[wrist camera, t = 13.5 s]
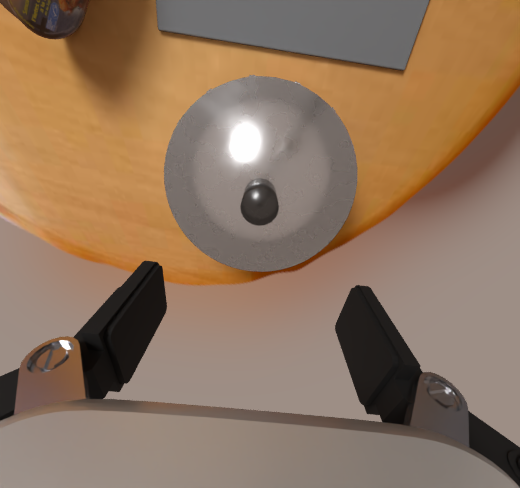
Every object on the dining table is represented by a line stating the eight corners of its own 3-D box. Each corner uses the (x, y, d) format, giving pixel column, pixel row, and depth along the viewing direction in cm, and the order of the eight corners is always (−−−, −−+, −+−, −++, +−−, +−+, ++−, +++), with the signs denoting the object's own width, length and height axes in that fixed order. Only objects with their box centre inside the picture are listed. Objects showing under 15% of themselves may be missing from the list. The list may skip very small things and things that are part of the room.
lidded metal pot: (361, 102, 28) (424, 86, 17) (315, 253, 40) (336, 303, 29) (180, 74, 27) (122, 37, 16) (187, 238, 39) (155, 284, 27)
